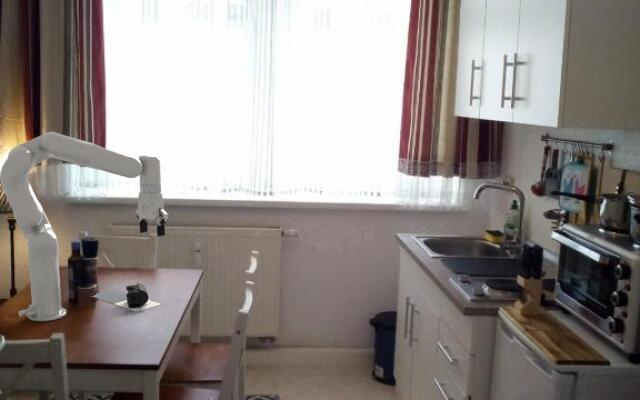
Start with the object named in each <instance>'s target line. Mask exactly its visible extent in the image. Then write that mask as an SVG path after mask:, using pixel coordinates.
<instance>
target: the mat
mask: <svg viewBox="0 0 640 400" xmlns="http://www.w3.org/2000/svg"><path fill="white" fill-rule="evenodd" d="M127 293H128V292H124V291H121V290H118V289H115V288H113V289H109V290H104V291H101V292H98V293H95V294H96V295H94V296H91V297H92V298H94V299H98V300H101V301H104V302H106V303H109V304H112V305H115V303H119V302H122V301H126V300H127Z"/></svg>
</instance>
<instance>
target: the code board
mask: <svg viewBox="0 0 640 400" xmlns="http://www.w3.org/2000/svg"><path fill="white" fill-rule="evenodd" d="M114 305H116V306H119V307H121V308H125V309H128V310H131V311H133V312H137V313H138V312H141V311H145V310H147V309H151V308H154V307H157V306H161V305H162V303H159V302H156V301H152V300H150V299H148V301H147V303H146V304H144V305H143V306H142V307H139V308H129V307H128V303H127V300H126V301H122V302H119V303H115V304H114Z"/></svg>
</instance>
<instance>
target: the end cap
mask: <svg viewBox="0 0 640 400" xmlns="http://www.w3.org/2000/svg"><path fill="white" fill-rule="evenodd" d="M125 288H126V289H125V291H126V293H127V303H128V307H129V308H139V307H142V306H143V305H144V304H146V303H147V301H148V300H149V294H148V292H147V288H146V286H145V285H144V284H143V283H141V282H137V284H132V285H127V286H126V287H125Z"/></svg>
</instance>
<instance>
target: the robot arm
mask: <svg viewBox="0 0 640 400" xmlns="http://www.w3.org/2000/svg"><path fill="white" fill-rule="evenodd" d="M51 158H53V159H57V160H61V161H64V162H68V163H71V164H75V165H79V166H83V167H87V168H90V169H93V170H97V171H102V172H105V173H109V174H112V175H113V174H114V175H115V176H116V175H117V176H120V177H124V178H129V179H134V178H137V177H139V192H138V198H137V208H136V209H135V210H134V211H135V213H136V217H137V220H138V222H139V233H141V234H142V233H147V232H148V231H149V229H148V228H149V227H148V221H155V222H156V223H157V225H156V234H157V235H156V236H157V237H163V236H165V235H166V227H165V226H166V224H167V222H168V219H169V213H167V211H165V206H164V199H163V198H164V197H163V193H162V180H161V179H162V177H161V176H162V175H161V158H160V156H158V155H157V154H143V155H130V154H122V153H119V152H116V151H114V150H113V151H112V150H110V149H106V148H104V147H102V146H100V145H98V144H95V143H92V142H89V141H85V140H82V139H80V138H79V139H78V138H75V137H71V136H67V135H64V134H61V133H58V132H56V131H48V132H46V133H43V134H41V135H38V136H37V137H34V138H32V139H30V140H28V141H25V142H23V143H21V144H19V145H18V144H17V145H16V146H14V147H13V148H12V149H11V150H10V151H9V152H8V155H7V158H6V160H5V161H4V163H3V165H2V167H1V170H0V183H1V187H2V190H3V193H4V194H5V196H6V199H7V202H8V204H9V205H10V208H11V210H12V214H13V217H14V219H15V220H16V222H17V224H18V226H19V228H20V230H21V232H22V234H23V236H24V238H25V240H26V243H27V249H28V250H27V251H28V263H29V264H28V265H29V266H28V267H29V279H30V281H29V282H30V294H31V295H30V297H31V304H29V305H28V308H27V309H22V310H19V311H18V315H19V317H24V316H26V317H27V318H28V319H29V320H30V321H32V322H33V321H34V322H49V321H54V320H57V319H61V318H63V317H64V316H66V315H67V309H66V308H64V307H62V296H61V293H62V292H61V276H60V265H59V263H60V262H59V240H58V237H57V234H56V233H55V231H54V229H53V227H52V225H51V223H50V221H49V219H48V217H47V214H46V213H45V211H44V208H43V206H42V203H41V202H40V201H39V200H38V197H37V196H36V194H35V192H34V189H33V187H32V185H31V182H30V180H29V179H30V178H29V176H30V175H29V174H30V172H31V171H32V170H33V169H35V166H36V165H38V164H40V163H42V162H44V161H47V160H48V159H51ZM147 220H148V221H147Z"/></svg>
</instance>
